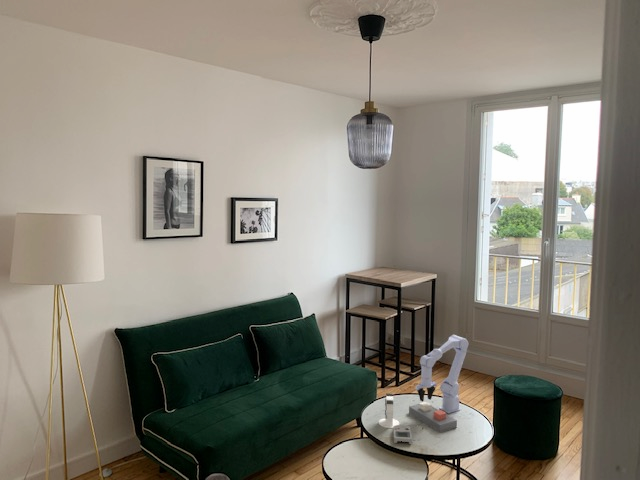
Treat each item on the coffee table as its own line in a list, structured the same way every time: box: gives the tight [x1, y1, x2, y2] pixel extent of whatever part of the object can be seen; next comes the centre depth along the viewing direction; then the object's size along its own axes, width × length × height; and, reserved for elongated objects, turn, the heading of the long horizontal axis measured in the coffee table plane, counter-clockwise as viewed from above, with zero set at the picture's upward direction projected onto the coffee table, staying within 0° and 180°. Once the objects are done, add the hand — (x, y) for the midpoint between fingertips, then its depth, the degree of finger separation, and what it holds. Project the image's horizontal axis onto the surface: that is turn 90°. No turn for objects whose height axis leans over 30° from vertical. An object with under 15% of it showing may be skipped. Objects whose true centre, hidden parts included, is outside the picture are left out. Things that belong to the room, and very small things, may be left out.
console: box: [408, 403, 458, 433], centre depth 274 cm, size 26×12×4 cm, turn 29°
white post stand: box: [378, 393, 400, 429], centre depth 269 cm, size 12×11×15 cm
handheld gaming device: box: [392, 424, 413, 445], centre depth 254 cm, size 9×15×4 cm, turn 174°
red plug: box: [433, 409, 447, 420], centre depth 268 cm, size 5×5×4 cm
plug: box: [418, 401, 432, 412], centre depth 279 cm, size 5×5×4 cm
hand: (425, 399), depth 278 cm, fingers open, 5 cm apart
